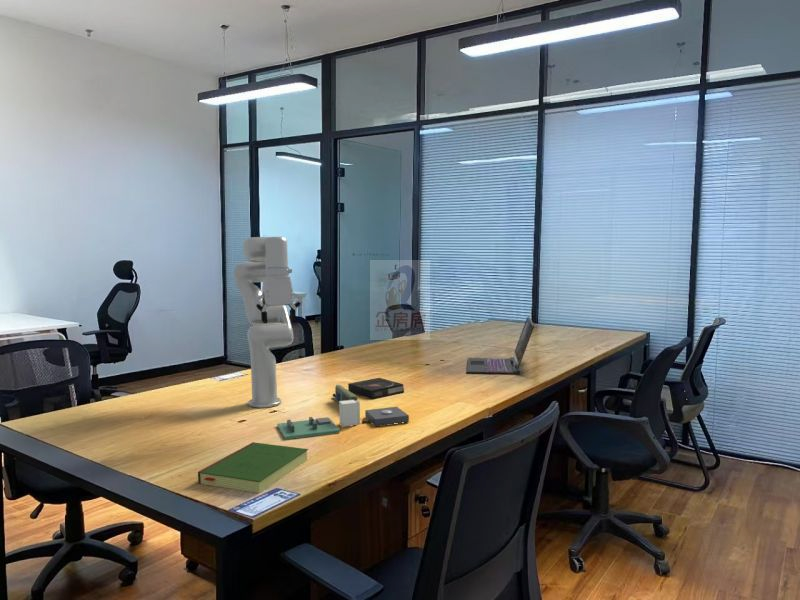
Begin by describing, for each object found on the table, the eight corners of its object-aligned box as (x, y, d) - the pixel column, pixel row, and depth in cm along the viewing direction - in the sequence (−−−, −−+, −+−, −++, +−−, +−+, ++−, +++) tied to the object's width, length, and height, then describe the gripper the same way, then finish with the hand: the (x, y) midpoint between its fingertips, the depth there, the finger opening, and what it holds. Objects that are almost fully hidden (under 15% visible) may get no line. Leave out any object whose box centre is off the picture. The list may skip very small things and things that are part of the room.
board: (277, 426, 200) (277, 417, 199) (328, 420, 206) (328, 412, 206) (284, 439, 186) (284, 430, 185) (339, 432, 192) (339, 423, 192)
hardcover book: (253, 454, 174) (252, 442, 174) (308, 461, 168) (308, 449, 167) (196, 486, 151) (195, 472, 151) (257, 496, 145) (257, 482, 144)
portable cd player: (372, 400, 233) (372, 390, 233) (348, 392, 246) (348, 383, 246) (404, 393, 244) (404, 384, 243) (379, 386, 257) (379, 377, 256)
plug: (339, 423, 202) (339, 401, 201) (357, 421, 204) (357, 399, 203) (342, 427, 198) (342, 404, 197) (361, 424, 200) (360, 402, 199)
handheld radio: (349, 414, 214) (329, 398, 236) (358, 413, 215) (337, 398, 238) (349, 396, 213) (330, 382, 236) (358, 396, 214) (337, 381, 237)
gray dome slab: (356, 418, 208) (356, 410, 208) (396, 413, 213) (396, 405, 213) (366, 427, 197) (366, 419, 196) (408, 422, 202) (408, 414, 202)
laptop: (468, 360, 312) (468, 316, 310) (528, 361, 308) (528, 316, 306) (466, 375, 278) (466, 324, 276) (534, 376, 274) (534, 325, 271)
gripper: (297, 271, 208) (299, 319, 210) (249, 273, 200) (251, 323, 202) (304, 272, 202) (306, 321, 203) (254, 273, 194) (256, 325, 195)
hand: (278, 322), depth 202 cm, fingers open, 9 cm apart
